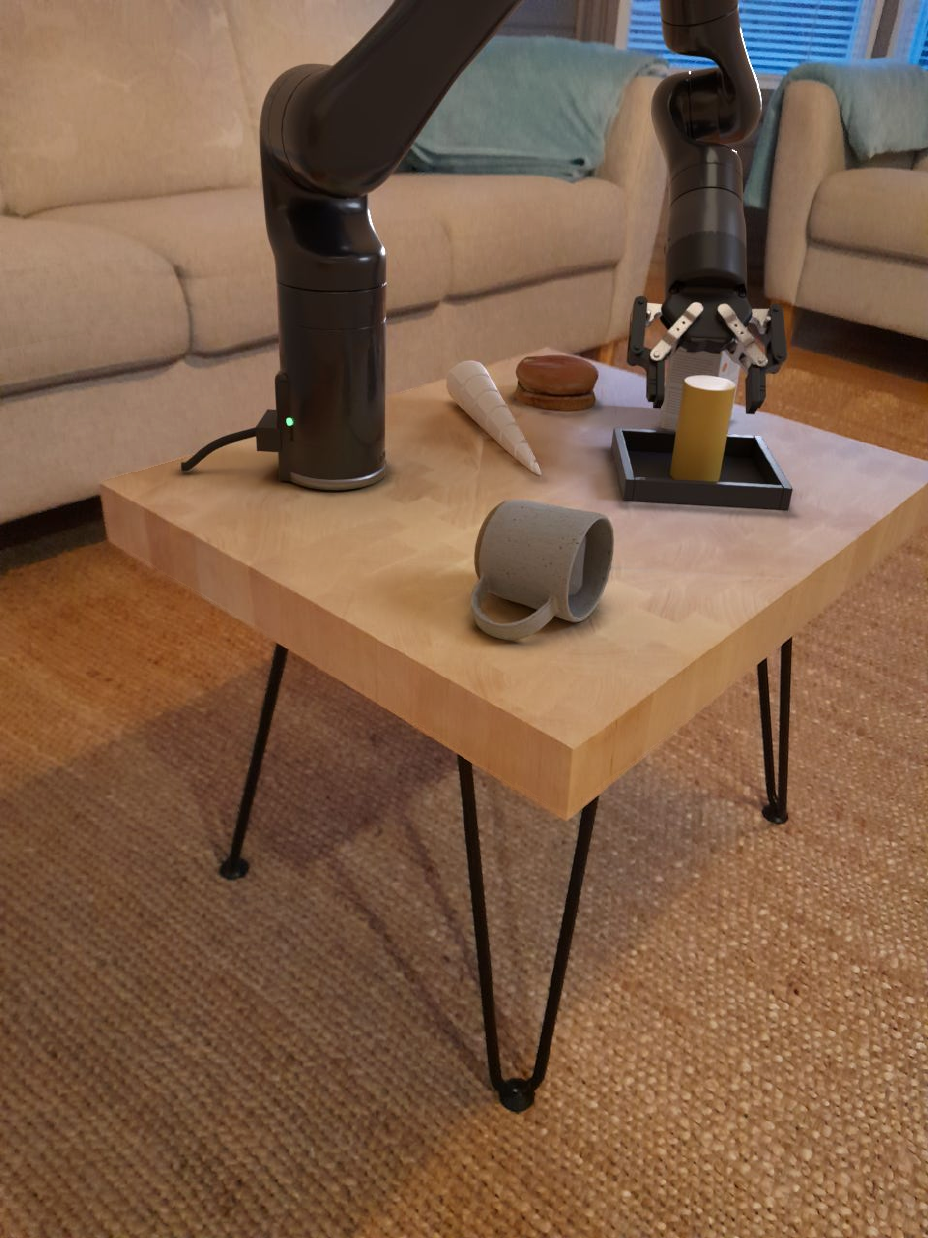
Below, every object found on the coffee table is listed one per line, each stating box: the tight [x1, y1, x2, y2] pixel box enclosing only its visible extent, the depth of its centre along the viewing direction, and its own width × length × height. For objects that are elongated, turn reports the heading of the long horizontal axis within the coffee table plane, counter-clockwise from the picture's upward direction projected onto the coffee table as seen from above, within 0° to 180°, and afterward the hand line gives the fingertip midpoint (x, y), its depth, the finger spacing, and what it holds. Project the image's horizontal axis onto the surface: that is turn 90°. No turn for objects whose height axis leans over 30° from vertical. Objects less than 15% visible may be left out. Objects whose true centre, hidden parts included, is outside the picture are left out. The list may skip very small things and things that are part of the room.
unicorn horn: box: [445, 359, 542, 476], centre depth 105 cm, size 5×24×5 cm, turn 14°
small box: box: [659, 326, 748, 431], centre depth 110 cm, size 8×6×10 cm
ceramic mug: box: [470, 499, 615, 641], centre depth 73 cm, size 11×8×8 cm
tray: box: [610, 427, 794, 511], centre depth 98 cm, size 15×14×2 cm
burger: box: [513, 354, 599, 412], centre depth 117 cm, size 10×9×5 cm
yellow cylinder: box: [670, 375, 737, 482], centre depth 96 cm, size 5×5×9 cm
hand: (705, 407), depth 95 cm, fingers open, 8 cm apart
